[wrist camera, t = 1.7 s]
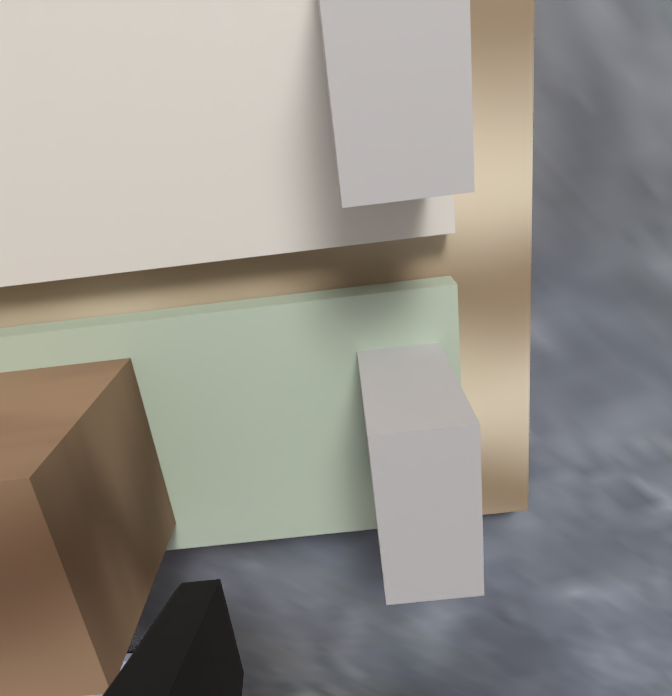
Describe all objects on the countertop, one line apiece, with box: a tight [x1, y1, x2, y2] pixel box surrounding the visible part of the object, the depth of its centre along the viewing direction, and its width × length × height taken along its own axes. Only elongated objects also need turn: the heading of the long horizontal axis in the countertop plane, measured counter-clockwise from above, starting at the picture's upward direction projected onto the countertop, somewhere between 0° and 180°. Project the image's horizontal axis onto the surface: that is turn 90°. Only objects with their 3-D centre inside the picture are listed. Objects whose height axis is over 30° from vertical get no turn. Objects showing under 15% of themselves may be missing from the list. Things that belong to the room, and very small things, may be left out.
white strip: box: [0, 0, 475, 287], centre depth 10 cm, size 7×14×5 cm, turn 97°
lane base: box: [0, 0, 535, 515], centre depth 14 cm, size 16×16×1 cm
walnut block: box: [0, 358, 176, 696], centre depth 12 cm, size 5×5×5 cm
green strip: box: [0, 276, 484, 605], centre depth 13 cm, size 7×14×5 cm, turn 97°
